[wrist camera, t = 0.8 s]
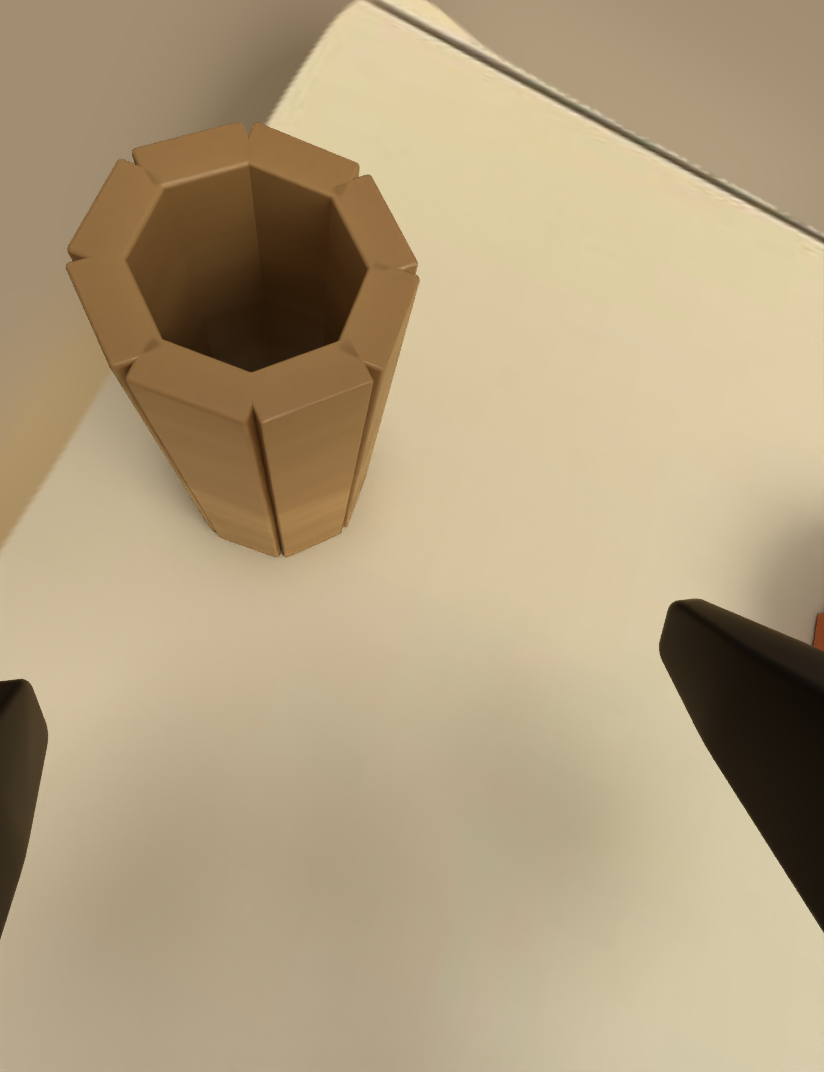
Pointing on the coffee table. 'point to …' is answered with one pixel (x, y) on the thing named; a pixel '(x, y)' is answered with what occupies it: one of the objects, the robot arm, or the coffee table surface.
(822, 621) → the ring stack
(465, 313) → the coffee table surface
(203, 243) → the tall ring
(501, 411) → the coffee table surface
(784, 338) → the coffee table surface
